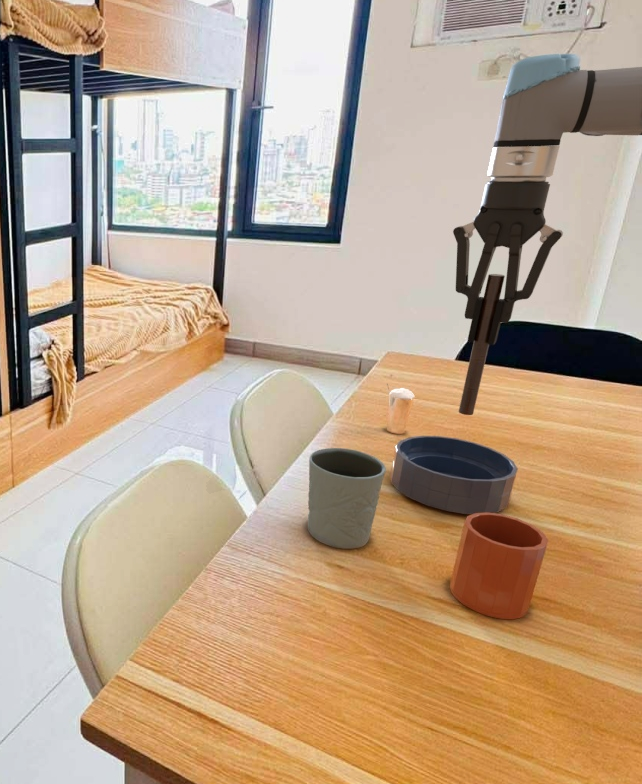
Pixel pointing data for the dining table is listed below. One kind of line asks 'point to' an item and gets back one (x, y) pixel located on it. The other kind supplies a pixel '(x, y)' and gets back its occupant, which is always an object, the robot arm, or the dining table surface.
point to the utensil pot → (497, 565)
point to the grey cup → (343, 496)
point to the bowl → (453, 474)
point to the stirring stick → (481, 344)
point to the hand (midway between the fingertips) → (481, 341)
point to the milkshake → (399, 409)
